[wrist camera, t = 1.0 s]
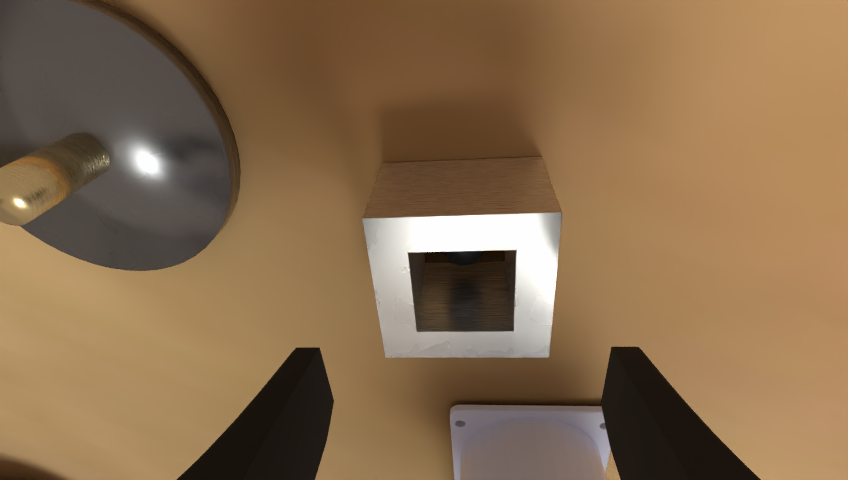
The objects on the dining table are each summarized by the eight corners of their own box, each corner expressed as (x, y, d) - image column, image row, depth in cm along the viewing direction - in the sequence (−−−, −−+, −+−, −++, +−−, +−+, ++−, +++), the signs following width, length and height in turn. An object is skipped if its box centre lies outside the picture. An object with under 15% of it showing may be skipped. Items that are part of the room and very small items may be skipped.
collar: (534, 284, 19) (548, 357, 16) (398, 286, 20) (385, 357, 16) (542, 156, 16) (562, 212, 13) (382, 163, 17) (362, 218, 14)
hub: (269, 254, 19) (222, 330, 16) (48, 259, 20) (-47, 331, 17) (186, -23, 14) (84, -9, 10) (-108, 3, 15) (-299, 24, 11)
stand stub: (481, 242, 18) (483, 265, 17) (446, 243, 19) (445, 266, 17) (481, 211, 18) (482, 232, 16) (444, 212, 18) (442, 233, 16)
